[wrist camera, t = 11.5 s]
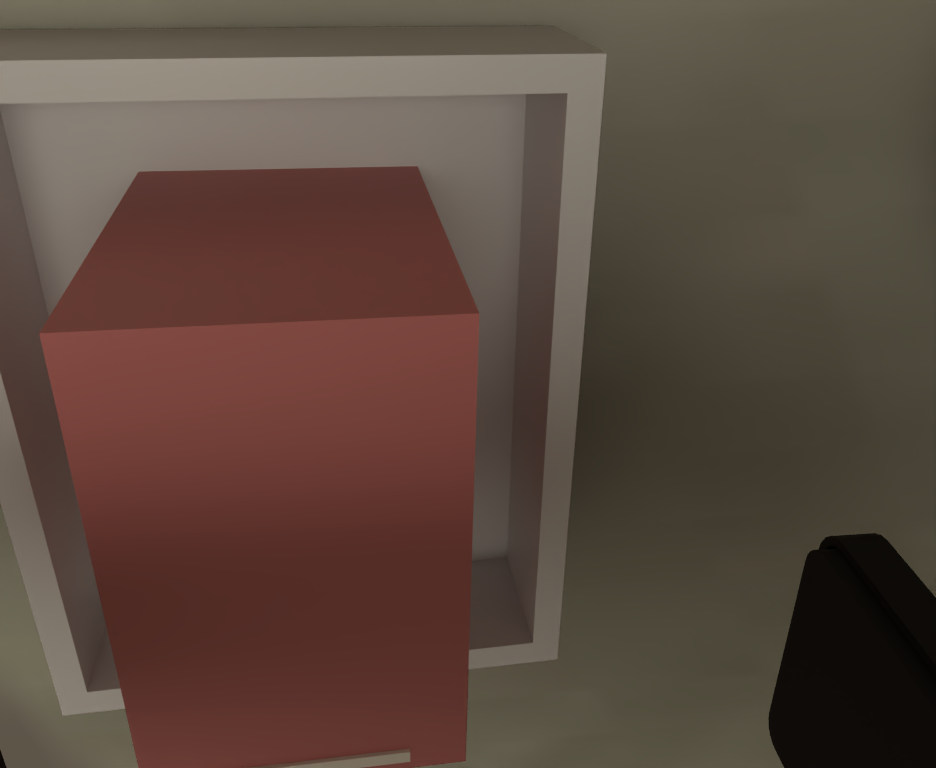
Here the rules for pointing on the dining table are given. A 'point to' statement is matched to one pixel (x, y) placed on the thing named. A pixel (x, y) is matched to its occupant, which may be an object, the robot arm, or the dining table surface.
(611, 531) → the dining table surface
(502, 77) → the tray
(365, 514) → the red block with stripe
